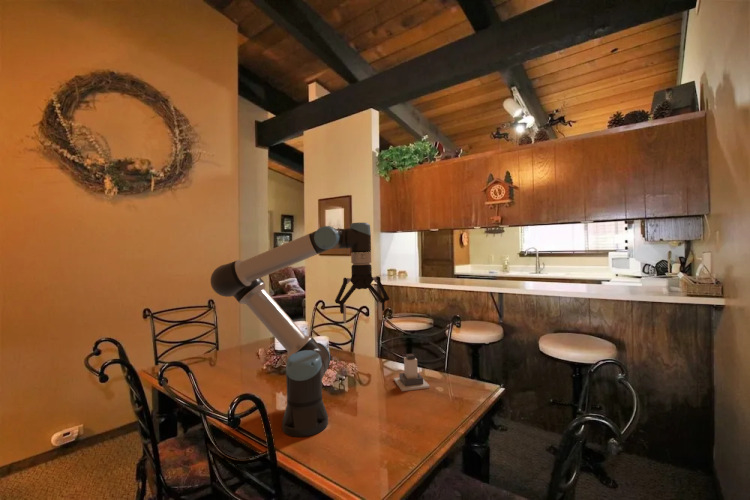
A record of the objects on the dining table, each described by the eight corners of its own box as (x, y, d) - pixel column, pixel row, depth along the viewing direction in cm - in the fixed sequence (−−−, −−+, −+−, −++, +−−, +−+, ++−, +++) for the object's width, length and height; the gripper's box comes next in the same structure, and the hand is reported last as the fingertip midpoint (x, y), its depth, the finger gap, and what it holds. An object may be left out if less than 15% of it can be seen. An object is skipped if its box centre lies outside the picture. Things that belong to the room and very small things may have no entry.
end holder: (402, 391, 138) (401, 382, 138) (393, 380, 149) (393, 372, 149) (429, 387, 140) (429, 379, 140) (419, 377, 152) (419, 369, 152)
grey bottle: (407, 384, 142) (407, 357, 142) (404, 380, 146) (403, 353, 146) (417, 383, 143) (417, 356, 143) (414, 379, 147) (413, 352, 147)
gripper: (328, 265, 119) (330, 325, 120) (396, 263, 125) (397, 320, 125) (327, 264, 127) (328, 321, 127) (390, 262, 132) (392, 316, 132)
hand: (362, 320), depth 126 cm, fingers open, 13 cm apart
